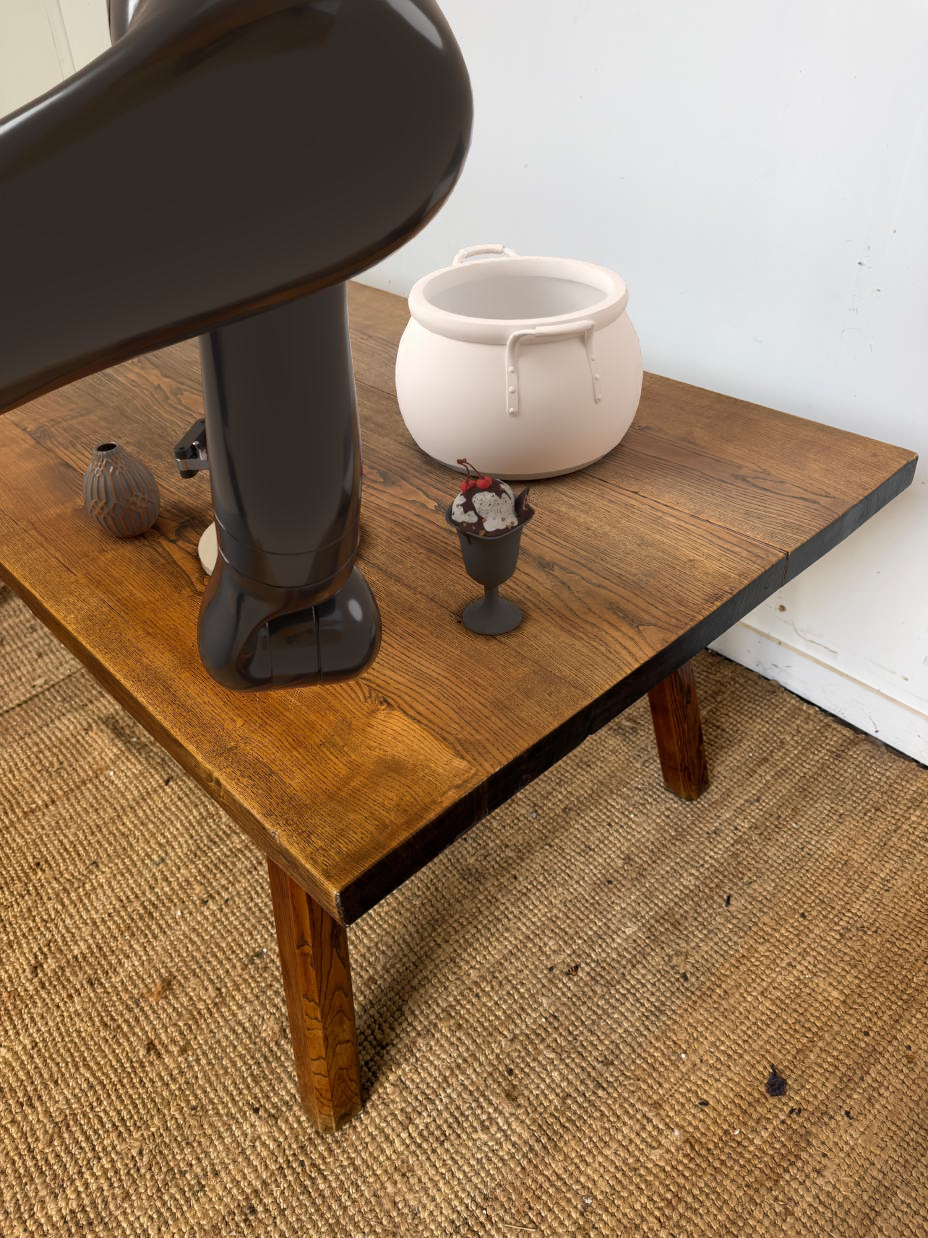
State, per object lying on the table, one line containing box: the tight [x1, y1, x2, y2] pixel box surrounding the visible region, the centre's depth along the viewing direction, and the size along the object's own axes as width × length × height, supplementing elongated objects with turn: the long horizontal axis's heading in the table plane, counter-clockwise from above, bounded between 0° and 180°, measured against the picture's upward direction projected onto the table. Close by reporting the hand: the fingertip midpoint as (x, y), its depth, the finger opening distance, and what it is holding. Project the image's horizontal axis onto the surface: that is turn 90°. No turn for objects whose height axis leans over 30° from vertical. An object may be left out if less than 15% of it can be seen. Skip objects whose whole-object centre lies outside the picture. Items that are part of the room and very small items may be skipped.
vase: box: [81, 440, 161, 538], centre depth 85 cm, size 7×7×9 cm
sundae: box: [444, 458, 536, 636], centre depth 69 cm, size 7×7×15 cm
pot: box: [394, 243, 644, 481], centre depth 94 cm, size 29×26×17 cm
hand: (253, 403), depth 78 cm, fingers closed on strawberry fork, 3 cm apart
